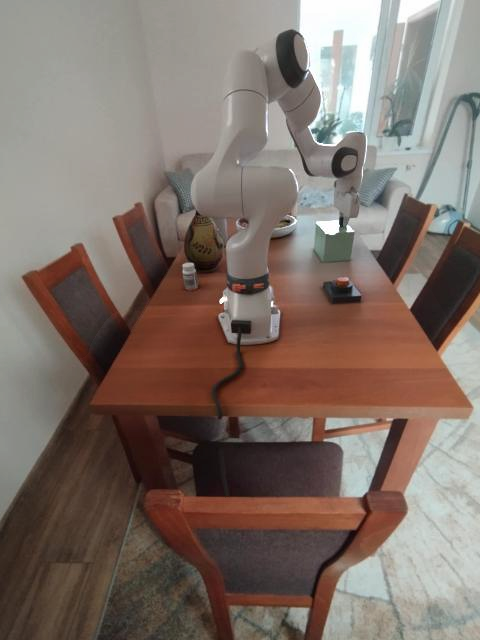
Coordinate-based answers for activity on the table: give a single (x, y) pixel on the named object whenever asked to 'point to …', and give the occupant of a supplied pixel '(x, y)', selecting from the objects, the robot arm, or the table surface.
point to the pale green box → (333, 241)
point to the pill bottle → (190, 276)
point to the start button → (342, 281)
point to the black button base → (341, 292)
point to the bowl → (280, 230)
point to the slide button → (341, 221)
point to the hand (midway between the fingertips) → (343, 224)
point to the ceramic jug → (203, 244)
